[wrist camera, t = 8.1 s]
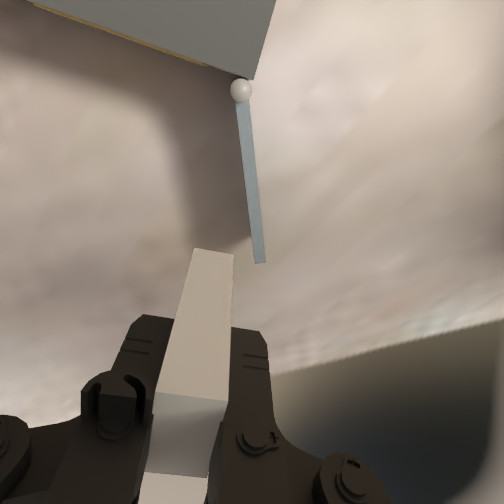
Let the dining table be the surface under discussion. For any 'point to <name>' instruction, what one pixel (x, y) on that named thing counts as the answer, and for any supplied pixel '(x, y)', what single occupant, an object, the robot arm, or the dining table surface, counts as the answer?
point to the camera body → (181, 27)
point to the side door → (249, 164)
